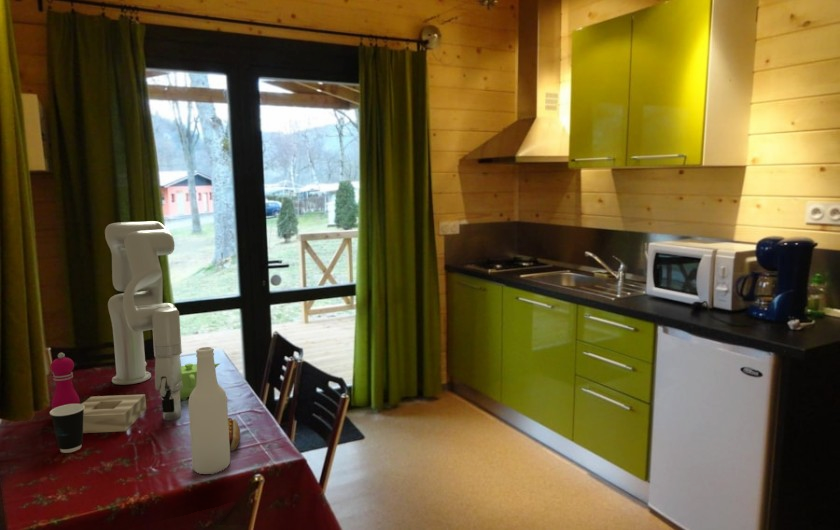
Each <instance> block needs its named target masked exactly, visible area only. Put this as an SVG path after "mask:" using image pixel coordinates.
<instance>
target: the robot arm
mask: <svg viewBox="0 0 840 530" xmlns="http://www.w3.org/2000/svg"><path fill="white" fill-rule="evenodd" d="M104 235H105V237H104V238H105V241H106V243H107V246H108V247H109V249H110V253H111V271H112V272H111V273H112V274H111V277H112V278H111V279H112V285H113V288H114V289H115V290H116V291H118V292H123V293H118V294H114V295H113V296H111V297H110V298H109V300H108V302H107V308H108V312H109V316H110V321H111V327H112V335H113V345H114V346H113V348H114V359H115V361H114V362H115V372H116V374H115V376H113V377H112V378H111V382H112V384H114V385H124V386H127V385H135V384H138V383H144V382H146V381H147V380H149V379H150V378H151V377H152V373H151V372H149V371H147V369H146V367H147V365H148V362H146V355H145V340H144V332H145V331H151V330H152V340H153V341H152V342H153V356H154V358H155V363H154V385H155V390H156V391H158V390H160V392H159V395H160V397H161V405H162V408H161V409H162V413H163V412H164V413H165V412H174V398H173V399H172V393H173V392H172V389H173V388H174V387H175V386H176V385H177V384H178V383H179V382H180V381H181V378H182V371H181V366H182V363H181V362H182V361H181V354H182V353H183V351H182V339H181V338H182V335H181V322H180V321H181V320H180V311H179V310H178V308H177V307H176V306H175V305H174V304H173V303H171V302H170V303H169V302H163V298H164V297H163V288H164V287H163V286H164V284H163V283H164V282H163V278H164V277H163V270H162V267H161V263H160V258H159V256H169V255H171V254H172V253H174V250H175V240H174V237H173V235H172V233H171V231H170V230H169V229H168V227H166V226H165V225H164V224H162V223H161V222H159V221H155V220H150V221H145V220H144V221H123V222H122V221H121V222H119V221H118V222H113V223H110V224H108V225H107V226H106V227H105V229H104ZM166 387H170V388H169V389H166ZM166 391H169V393H167V392H166Z"/></svg>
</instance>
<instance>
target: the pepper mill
mask: <svg viewBox="0 0 840 530" xmlns="http://www.w3.org/2000/svg"><path fill="white" fill-rule="evenodd" d="M74 368H75V363H74V361H73V360H72V359H71V358H70V357H66V355H65V353H64V352H59V353H58V354H57V358H55V359H54V360H53V361H52V362H51V363H50V371H51V373H53V375H52V376H53V381H55V390H54V393H53V396H52V399H51V408H52V409H54V408H56V407H59V406H62V405H67V404H81V403H80V402H81V401H80V396H79V395H78V393H77V391H76V390H75V387H74V386H73V382H72V381H73V379H72V378H73V377H74V375H73V374H74V372H73V370H74Z"/></svg>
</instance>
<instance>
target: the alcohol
mask: <svg viewBox="0 0 840 530" xmlns="http://www.w3.org/2000/svg"><path fill="white" fill-rule="evenodd" d="M195 352H196V356H195V358H196V364H197V383H196V387H195V388H194V390H193V391H192V393H191V394H190V396H189V398H188V414H189V416H188V417H189V434H190V447H191V448H190V449H191V450H190V451H191V461H192V463H191V464H192V469H193V471H194V472H195V473H196V472H197V473H196V474H198V473H199V475H201V474H211V475H213V474H212V473H216V472H219V471H221V470H223V471H225V470H226V469H228V467H229V466H230V464H231V451H230V444H229V426H228V418H229V413H228V412H229V411H228V410H229V409H228V396H227V394H226V390H225V389H224V388H223V387H222V386H220V384H219V383H218V382H219V381H218V378H217V371H216V368H215V364H216V363H215V357H214V356H215V353H214V352H215V351H214V348H213V347H211V346H205V347H199V348H196V350H195ZM225 468H226V469H225ZM224 469H225V470H224ZM221 472H222V471H221ZM219 473H220V472H219ZM216 474H217V473H216Z"/></svg>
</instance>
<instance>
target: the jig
mask: <svg viewBox="0 0 840 530" xmlns="http://www.w3.org/2000/svg"><path fill="white" fill-rule="evenodd" d="M81 404H83V405H84V406H85V408H84V414H83V434H89V433H90V434H91V433H113V432H114V433H116V432H117V433H118V432H126V431H127V430H128V429H129V428H130V427H131V426H133V424H134V423H135V422H136V421H137V420H138V419H139V418H140V417H141V416H142V415H143V414H144V413H146V411H147V401H146V394H145V393H144V394H124V395H123V394H121V395H102V396H101V395H97V396H90V397H89V398H87V399H86V400H85V401H83V402H82V403H81Z"/></svg>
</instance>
